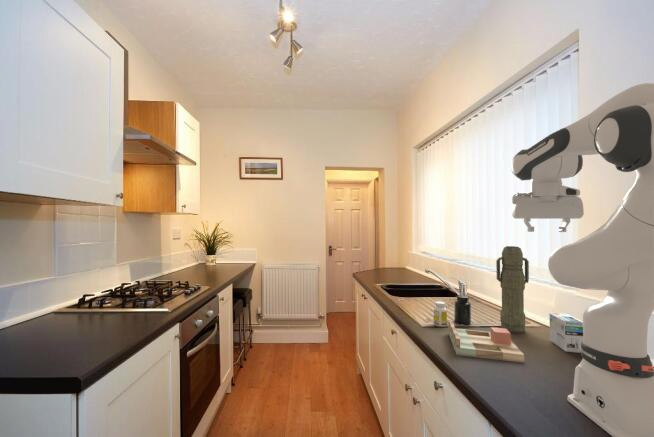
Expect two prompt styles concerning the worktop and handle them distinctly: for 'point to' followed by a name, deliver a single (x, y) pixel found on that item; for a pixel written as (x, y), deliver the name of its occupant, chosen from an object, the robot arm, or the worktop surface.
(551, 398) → the worktop surface
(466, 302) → the supplement bottle
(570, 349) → the light bulb box
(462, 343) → the board
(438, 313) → the supplement bottle
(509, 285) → the thermos
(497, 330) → the block
